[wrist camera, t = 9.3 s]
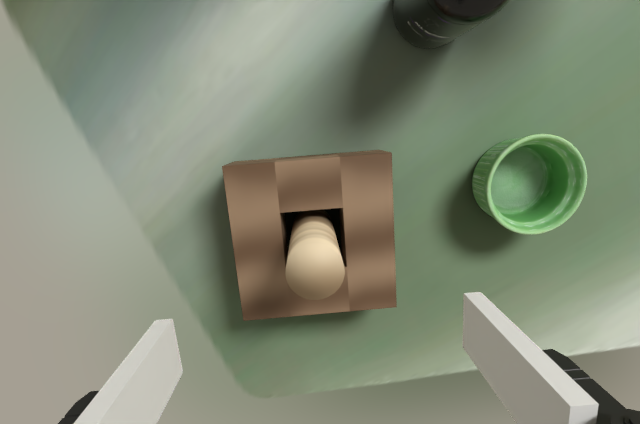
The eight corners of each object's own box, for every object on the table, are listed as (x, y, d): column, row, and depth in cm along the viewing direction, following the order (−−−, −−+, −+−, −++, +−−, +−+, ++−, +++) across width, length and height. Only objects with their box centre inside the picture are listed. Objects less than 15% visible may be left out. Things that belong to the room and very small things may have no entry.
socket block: (234, 161, 34) (222, 166, 29) (379, 149, 34) (391, 152, 29) (251, 295, 37) (243, 320, 32) (384, 284, 37) (396, 307, 32)
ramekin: (462, 141, 34) (484, 142, 30) (553, 127, 34) (588, 126, 30) (467, 229, 36) (489, 242, 32) (554, 215, 36) (587, 226, 32)
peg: (291, 208, 35) (282, 246, 23) (331, 205, 35) (342, 241, 23) (294, 246, 36) (288, 302, 24) (333, 243, 36) (346, 297, 24)
